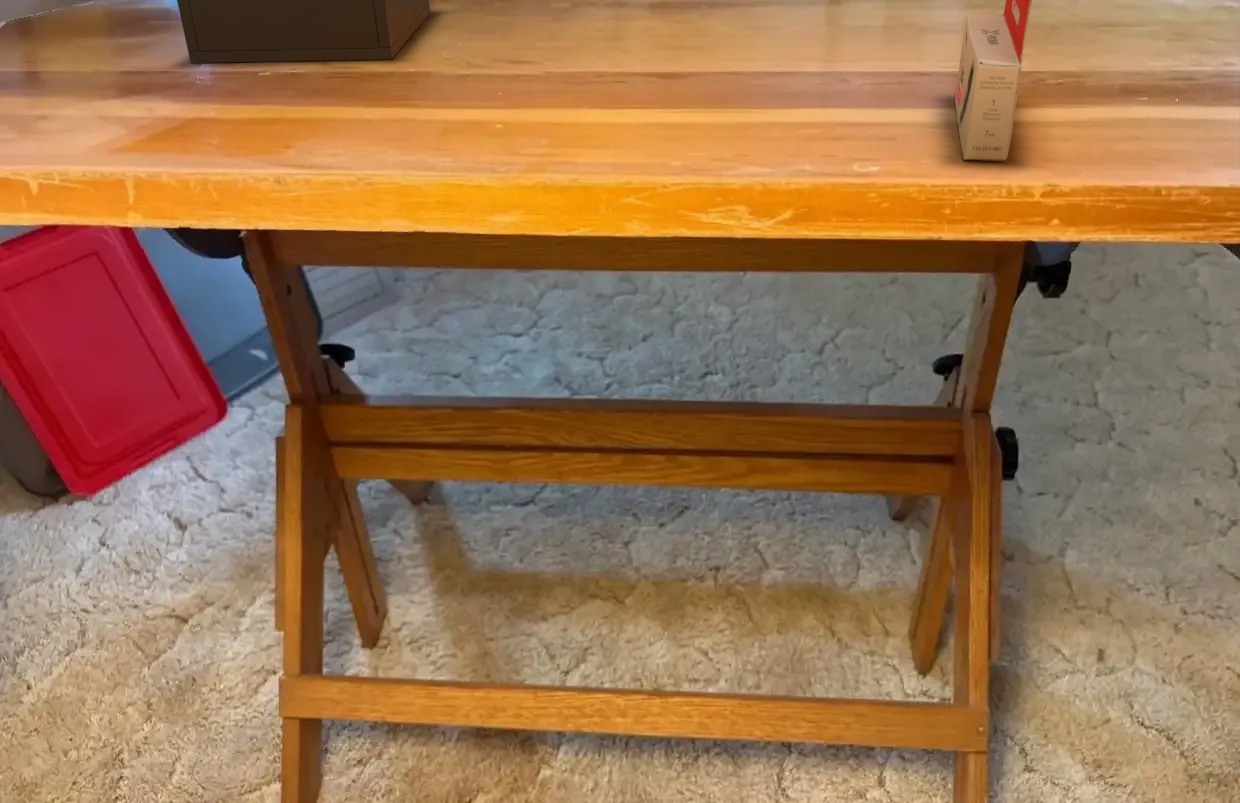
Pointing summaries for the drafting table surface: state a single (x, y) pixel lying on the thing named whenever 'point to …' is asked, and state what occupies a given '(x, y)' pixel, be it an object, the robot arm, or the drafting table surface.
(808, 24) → the drafting table surface
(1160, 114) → the drafting table surface
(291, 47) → the bin
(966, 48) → the ink box
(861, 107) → the drafting table surface
